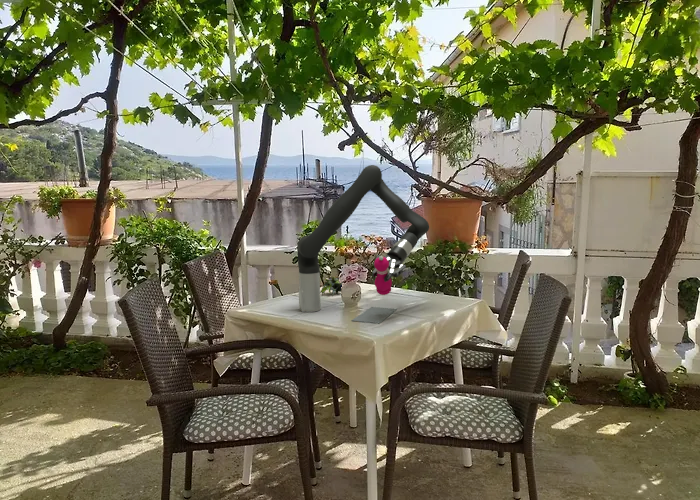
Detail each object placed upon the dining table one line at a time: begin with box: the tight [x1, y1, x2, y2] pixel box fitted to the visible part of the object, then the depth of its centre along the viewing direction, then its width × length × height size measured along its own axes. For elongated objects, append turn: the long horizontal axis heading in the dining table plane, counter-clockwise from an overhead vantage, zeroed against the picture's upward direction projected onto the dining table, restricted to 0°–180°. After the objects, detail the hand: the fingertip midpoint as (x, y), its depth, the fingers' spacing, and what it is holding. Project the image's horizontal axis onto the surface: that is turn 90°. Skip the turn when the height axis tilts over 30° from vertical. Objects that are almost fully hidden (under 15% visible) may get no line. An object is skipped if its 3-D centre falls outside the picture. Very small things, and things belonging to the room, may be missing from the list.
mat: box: [351, 306, 398, 325], centre depth 220 cm, size 24×12×1 cm, turn 157°
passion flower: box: [320, 275, 343, 297], centre depth 261 cm, size 11×11×12 cm
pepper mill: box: [373, 255, 393, 296], centre depth 211 cm, size 7×7×20 cm
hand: (379, 277), depth 209 cm, fingers closed on pepper mill, 5 cm apart
